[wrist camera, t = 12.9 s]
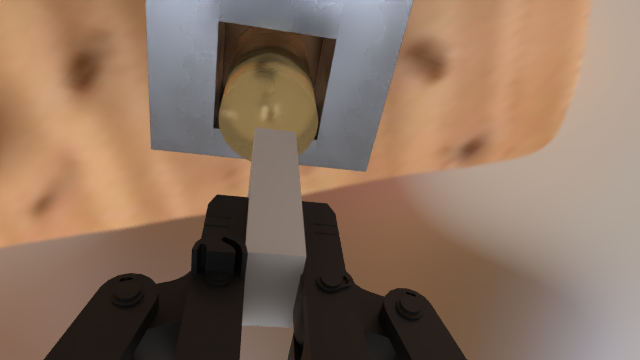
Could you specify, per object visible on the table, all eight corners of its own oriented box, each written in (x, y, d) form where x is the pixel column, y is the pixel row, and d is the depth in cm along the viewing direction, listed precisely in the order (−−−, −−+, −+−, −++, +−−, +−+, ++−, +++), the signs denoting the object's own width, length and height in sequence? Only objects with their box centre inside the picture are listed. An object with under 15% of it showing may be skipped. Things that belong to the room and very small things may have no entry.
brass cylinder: (236, 16, 25) (221, 68, 18) (314, 29, 26) (326, 83, 19) (230, 90, 27) (215, 158, 21) (301, 99, 28) (309, 169, 21)
